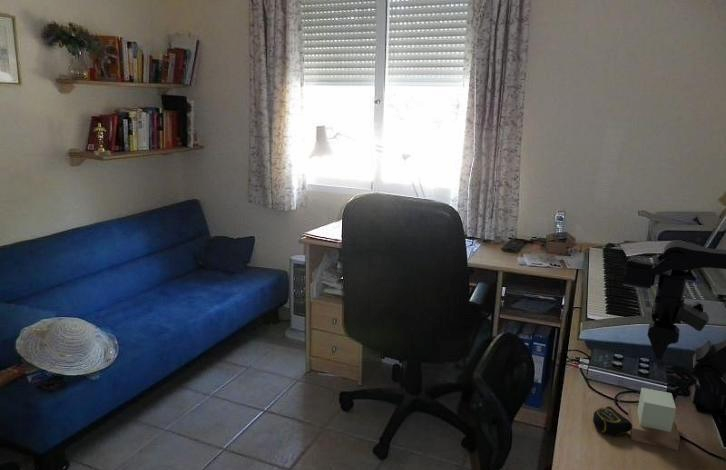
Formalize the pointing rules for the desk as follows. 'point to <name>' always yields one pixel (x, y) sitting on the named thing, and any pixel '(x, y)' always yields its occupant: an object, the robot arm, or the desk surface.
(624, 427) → the tape measure
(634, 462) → the desk surface
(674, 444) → the tan square block
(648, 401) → the sage block
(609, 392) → the desk surface
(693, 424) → the desk surface
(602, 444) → the desk surface
